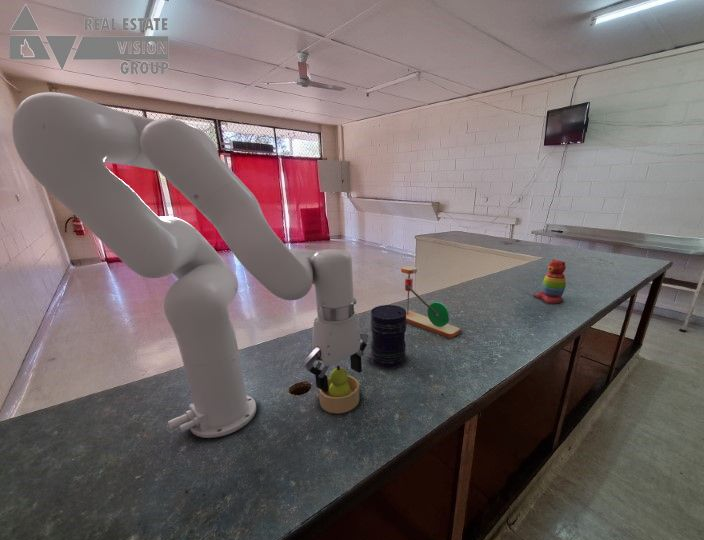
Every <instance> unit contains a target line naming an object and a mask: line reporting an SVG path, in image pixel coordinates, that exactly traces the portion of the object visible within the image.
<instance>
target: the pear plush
mask: <svg viewBox="0 0 704 540" xmlns="http://www.w3.org/2000/svg"><path fill="white" fill-rule="evenodd" d="M348 374H349V373H348V372H347V370H346V369H345V368H343V367H341V366H340V365H337V366H336V367H335V368H334V369H332V370H331V371H330V374H329V377H330V381H331V382H332V383H331V385H330V387H329V394H330V396H331V397H343V396H347V395H349V393H350V386H349V384H348V383H347V382H346V381H347V378H348Z"/></svg>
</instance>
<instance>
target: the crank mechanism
mask: <svg viewBox="0 0 704 540" xmlns="http://www.w3.org/2000/svg"><path fill="white" fill-rule="evenodd" d="M400 272H401V273H402V274H406V275H408V277H405V278H404V279H405V280H404V291H406V292H407V303H406V304H407V305H406V309H405V310H406V323H408V324H411V325H414V326H417V327H419V328H421V329H424V330H427V331H430V332H431V333H435V334H438V335H440V336H443V337H445V338H450V339H451V338H454V337H456V336H457V335H459V334H460V332H461V331H460V330H461V328H459V327H458V326H456V325H452V324H450V323H449V321H450V312H449V309H448V308H447V306H446V305H445V304H443V303H442V302H439V301H435V302H432V303H430V304H429V303H427V302H426V300H424V299H423V298H422V297H421V296H420V295H419V294H418V293H417V292H416V291H415V290H414V289H413V284H414V283H413V282H414V279H413V278H412V277H411V275H413V274H416V273H417V272H418V268H417V267H415V266H411V265H406V266H401V267H400ZM410 293H412V294H413V295H414V296H415V297H416V298H417V299H419V301H421V303H422V304H424V306H425V307H427V310H426V311H427V312H426V313H427V316H426V315H423V314H421V313H418V312H415V311H412V310H410Z"/></svg>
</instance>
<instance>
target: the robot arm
mask: <svg viewBox="0 0 704 540" xmlns="http://www.w3.org/2000/svg"><path fill="white" fill-rule="evenodd" d="M13 114H14V115H13V117H12V129H11V130H12V132H11V133H12V139H13V144H14V146H15V150H16V153H17V154H18V156H19V158H20V160H21V161H22V163H23V164H24V166H25V168H26V169H27V170H28V171H29V173H30V174H31V175H32V176H33V178H35V180H36V181H37V182H38V183H39V184H40V185H41V186H42V187H43V188H45V190H46V191H48V193H50V194H51V195H52V196H53V197H54V198H56V199H57V200H58V201H59V202H60V203H61V204H63V206H65V207H66V209H68V210H69V211H70V212H71V213H72V214H73V215H74V216H76V217H77V218H78V219H79V220H80V221H81V222H82V223H83V225H84V226H86V228H87V229H88V230H89V231H90V232H91V233H92V234H93V235H94V236H95V237H96V238H97V239H99V240H100V241H101V242H102V244H104V245H105V246H106V247H107V249H109V250H110V251H111V252H112V253H113V254H114V255H115V256H116V257H117V258H118V259H119V260H120V261H121V262H122V263H123V264H124V265H125V266H126V267H128V268H129V269H130V270H131V271H132V272H134V273H135V274H137V275H139V276H140V277H144V278H146V279H147V278H148V279H161V278H165V277H166V276H169V275H171V274H173V275H174V276H175V277H176V279H177V280H175V281H174V283H172V284H171V286H170V287H169V288H168V289H167V292H166V294H165V296H164V299H163V310H164V311H163V312H164V314H165V315H164V316H165V317H166V319H167V322H168V323H169V326H170V328H171V330H172V332H173V334H174V336H175V340H176V343H177V345H178V349H179V353H180V357H181V360H182V364H183V368H184V371H185V372H184V373H185V376H186V380H187V384H188V387H189V392H190V395H191V398H192V399H191V400H192V403H190V404H189V405H188V407H189V410H187V411H184V412H185V413H184V414H182V415H180V416H177V417H175V418H172V419H171V420H168V421H167V427H168V429H169V430H170V431H174V430H176V429H178V428H179V430H180V432H181V433H184V432H186V431H189V430H190V432H191V433H192V435H195V436H196V437H199V438H206V439H210V438H212V439H213V438H220V437H224V436H227V435H231V434H232V433H235V432H237V431H238V430H240V429H242V428H243V427H245V426H247V424H249V423H250V422H251V421H252V419H253V418H254V417H255V415H256V414H257V413H256V412H257V403H256V400H255V399H254V398H253V397H252V396H250V395H248V394H247V391H246V386H245V379H244V375H243V369H242V364H241V358H240V357H241V356H240V351H239V347H238V341H237V336H236V332H235V329H234V325H233V323H232V320H231V317H230V314H229V313H230V312H229V309H230V308H229V307H230V306H231V304H232V302H233V301H234V300H235V298H236V297H237V294H238V291H239V280H238V278H237V276H236V274H235V271H233V269H232V268H231V267H230V266H229V265H228V263H227V262H226V261H225V260H224V259H223V257H222V256H221V255H220V254H219V253H218V252H217V251H216V250H215V248H214V247H213V246H212V245H211V244H210V242H209V241H208V240H207V239H206V238H205V237H204V236H203V235H202V234H201V232H200V231H198V230H197V228H195V226H193V225H192V224H190V223H189V222H187V221H185V220H183V219H181V218H178V217H174V216H158V215H157V214H156V213H155V212H154V211H153V210H152V209H151V207H149V206H148V205H147V204H146V203H145V202H144V201H143V200H142V199H141V197H140V196H139V195H138V193H137V192H135V190H134V189H133V188H131V187H130V185H128V184H127V183H126V182H124V181H123V180H122V179H120V178H119V177H118V176H117V175H115V173H113V171H111V170H110V169H109V168H108V166H106V164H113V165H124V166H130V167H136V168H142V169H147V170H152V171H157V172H159V173H160V174H161V175H162V176H163V177H164V178H165V179H166V180H167V181H168V182H169V183H170V184H171V185H172V186H173V187H174V188H175V189H176V190H177V191H178V192H179V193H180V194H182V196H184V197H185V198H186V199H187V200H188V202H189V203H191V204H192V205H193V206H194V208H196V209H197V210H198V211H199V212H200V213H201V214H202V216H203V217H205V218H206V219H207V221H209V222H210V223H211V224H212V225H213V226H214V228H215V230H216V231H217V232H218V234H219V236H220V238H221V239H222V240H223V242H224V243H225V244H226V245H227V246H228V248H229V250H230V251H231V252H232V254H233V255H234V257H235V258H236V259H237V261H239V262H240V264H241V265H242V266H243V267H244V269H246V271H247V272H248V273H249V274H250V275H251V276H253V278H255V279H256V280H257V281H258V282H259V284H261V285H262V286H263V287H264V288H265V289H266V290H267V291H269V293H271V294H273V295H274V296H275V297H277V298H279V299H282V300H285V301H297V300H300V299H303V298H304V297H305V296H306V295H307V294H308V293H309V292H310V291H311V289H312V287H313V285H314V290H315V291H314V292H315V301H316V302H315V303H316V304H315V305H316V314H317V317H314V319H313V325H312V332H311V333H312V335H311V337H312V339H311V341H312V342H311V344H312V351H311V352H310V353H309V355H307V357H305V359H304V360H303V361H302V362H301V363H302V366H303V367H304V368H305V369H306V371H307V372H308V373H310V374H312V375H314V378H315V386H316V388H317V389H318V390H319V389H321V390H322V391H324V392H327V391H328V379H327V378H328V375H326V373H327V371H328V369H329V367H331V366H333V365H335V364H337V363H339V362H342V361H343V360H346V359H348V358H349V359H350V369H351V370H353V371H355V372H356V373H359V374H361V373H362V371H363V370H362V369H363V367H362V365H363V364H362V358H363V356H364V351H365V349H366V347H367V342H368V340H369V337H370V336H369V334H368V333H365V332H362V331H360V324H359V320H358V316H357V312H356V311H355V305H356V304H357V299H356V298H354V283H353V282H354V280H353V279H354V278H353V260H352V259H353V258H352V256H351V254H350V252H348V251H346V250H344V249H340V248H339V249H337V248H330V249H323V250H322V249H321V250H311V249H301V248H288V246H287V245H286V244H285V243H284V242H283V241H282V240H281V239H280V237H279V236H278V235H277V233H276V232H275V231H274V230H273V228H272V227H271V225H270V224H269V222H268V221H267V219H266V218H265V215H264V213H263V210H262V208H261V205H260V202H259V201H258V199H257V198H256V196H255V194H254V193H253V192H252V191H251V190H250V189H249V188H248V187H247V186H246V184H245V183H244V182H243V181H242V180H241V179H240V178H239V177H238V176H237V175H236V174H235V172H234V171H233V170H232V169H231V168H230V167H229V166H228V165H227V164H226V163H225V162H224V160H223V159H222V158H221V157H220V155H219V151H218V148H217V146H216V144H215V142H214V141H213V140H212V138H211V137H210V136H209V135H208V134H207V133H205V132H204V131H203V130H202V129H200V128H197V126H194V125H191V124H189V123H186V122H184V121H183V120H180V119H175V118H169V117H163V118H162V117H161V118H158V119H155V118H154V119H153V118H149V117H145V116H141V115H137V114H134V113H129V112H125V111H122V110H118V109H115V108H112V107H109V106H106V105H103V104H101V103H98V102H95V101H92V100H89V99H86V98H83V97H81V96H77V95H73V94H69V93H63V92H55V91H47V92H46V91H45V92H38V93H35V94H32V95H30V96H27V97H26V98H25V99H24V100H22V101H21V102H20V104H19V105H18V106H17V108H16V109H15V111H14V113H13ZM314 363H315V364H314Z"/></svg>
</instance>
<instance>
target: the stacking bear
mask: <svg viewBox="0 0 704 540" xmlns="http://www.w3.org/2000/svg"><path fill="white" fill-rule="evenodd" d="M566 267H567V266H566V262H565V261H563V260H559V259H558V260H556V259H555V258H554V259H552V260H551V262H549V264H548V265H547V271H548V272H547V273H546V274H545V276H544V278H543V280H542V283H541V284H542V285H541V289H542V291H539V292H536V293H535V295H534V297H535V298H537V299H541V300H543V301H545V303H547V304H558V303H561V302H562V301H563V295H564V293H565V290H566V286H567V280H566V275H565V274H564V272H565V271H566Z"/></svg>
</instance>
